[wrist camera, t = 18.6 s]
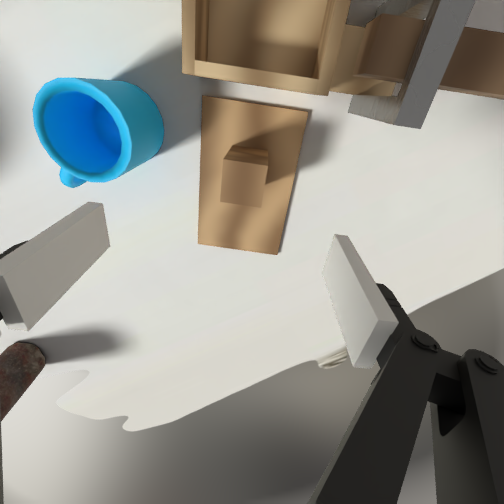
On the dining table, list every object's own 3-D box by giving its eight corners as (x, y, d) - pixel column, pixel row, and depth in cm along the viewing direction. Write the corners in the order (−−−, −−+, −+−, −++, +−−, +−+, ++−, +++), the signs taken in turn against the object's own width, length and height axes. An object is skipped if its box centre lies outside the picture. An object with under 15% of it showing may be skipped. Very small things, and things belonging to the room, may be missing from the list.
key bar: (352, 75, 20) (364, 73, 17) (366, 23, 18) (382, 13, 16) (506, 100, 20) (541, 101, 18) (533, 51, 19) (575, 44, 16)
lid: (199, 240, 37) (183, 274, 30) (204, 95, 28) (183, 96, 21) (277, 251, 37) (279, 287, 30) (307, 111, 28) (319, 118, 21)
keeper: (347, 112, 27) (394, 124, 17) (377, 7, 23) (461, -57, 13) (364, 115, 27) (420, 128, 17) (397, 11, 23) (497, -51, 13)
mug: (113, 60, 26) (57, 49, 19) (178, 125, 29) (150, 136, 22) (62, 149, 31) (2, 165, 24) (122, 197, 34) (84, 225, 27)
